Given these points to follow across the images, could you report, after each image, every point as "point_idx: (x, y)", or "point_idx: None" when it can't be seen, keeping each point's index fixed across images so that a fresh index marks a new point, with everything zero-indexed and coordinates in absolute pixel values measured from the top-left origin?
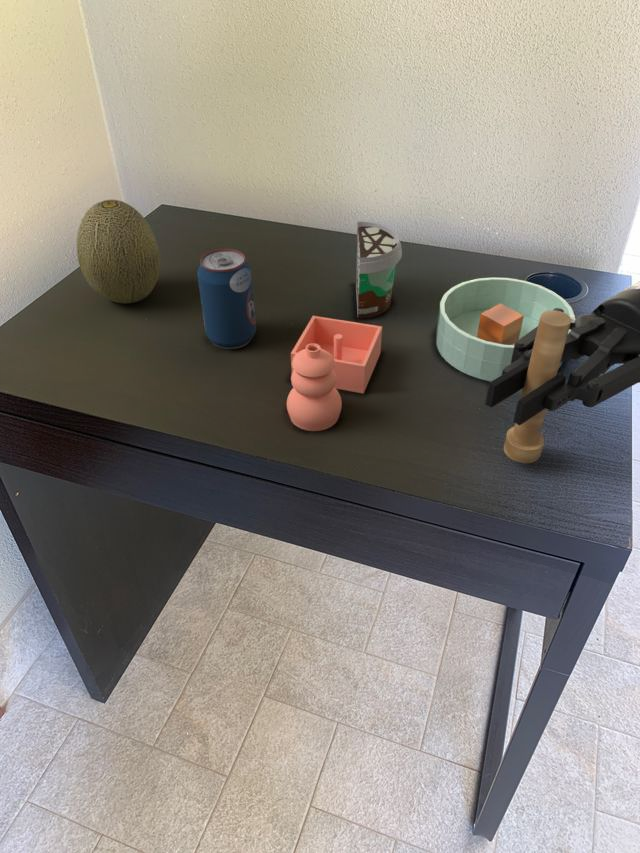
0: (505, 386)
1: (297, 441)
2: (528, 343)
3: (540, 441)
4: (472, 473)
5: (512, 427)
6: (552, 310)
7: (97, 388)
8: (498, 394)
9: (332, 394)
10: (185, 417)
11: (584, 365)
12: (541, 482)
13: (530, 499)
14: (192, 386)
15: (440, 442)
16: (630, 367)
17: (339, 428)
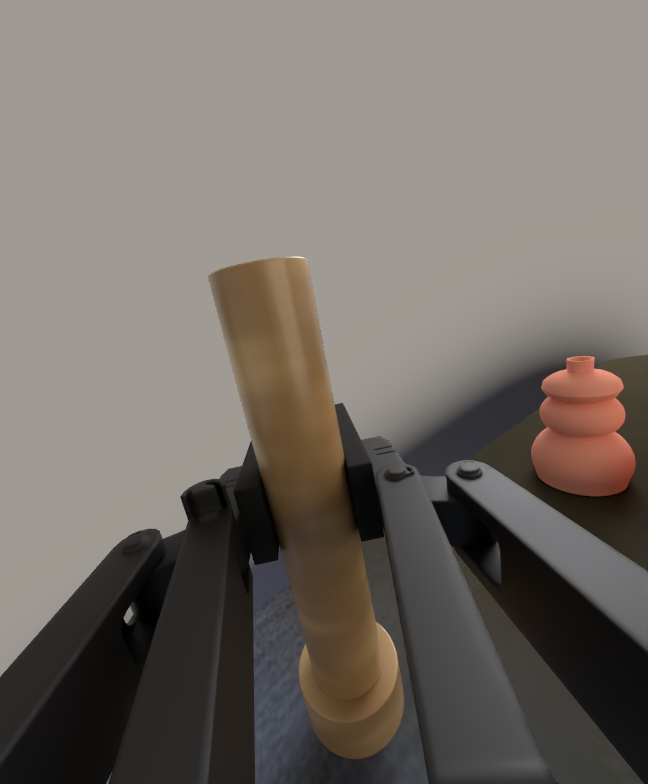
0: None
1: (516, 458)
2: (467, 490)
3: (312, 687)
4: (378, 601)
5: (396, 655)
6: (294, 257)
7: (621, 378)
8: None
9: (568, 444)
10: None
11: (210, 582)
12: (280, 719)
13: (268, 657)
14: (640, 410)
15: (479, 594)
16: None
17: (542, 490)
